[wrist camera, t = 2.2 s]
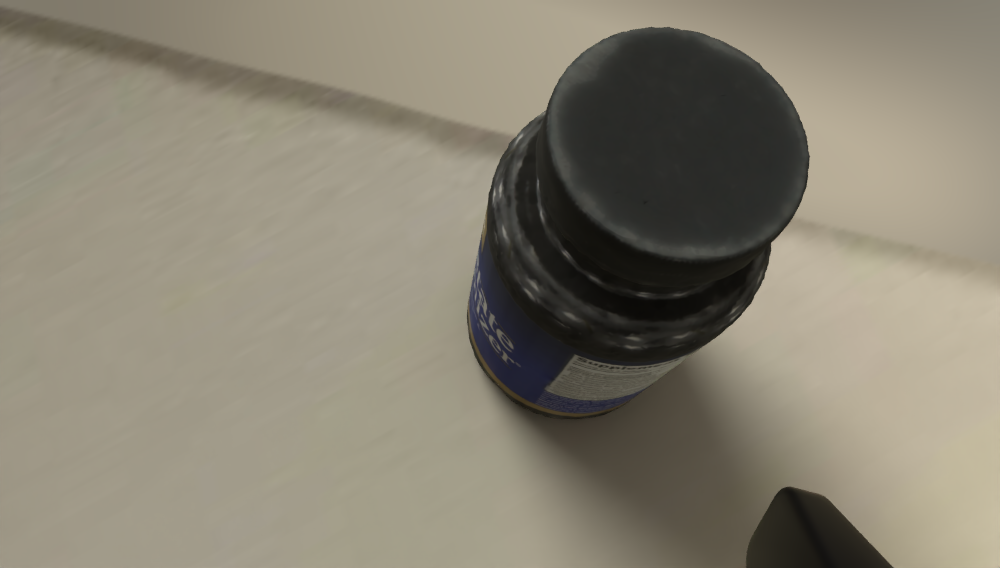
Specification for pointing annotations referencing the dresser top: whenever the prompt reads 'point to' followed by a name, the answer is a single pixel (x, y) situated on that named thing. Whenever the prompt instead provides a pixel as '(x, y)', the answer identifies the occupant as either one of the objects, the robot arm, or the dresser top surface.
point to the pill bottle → (632, 219)
